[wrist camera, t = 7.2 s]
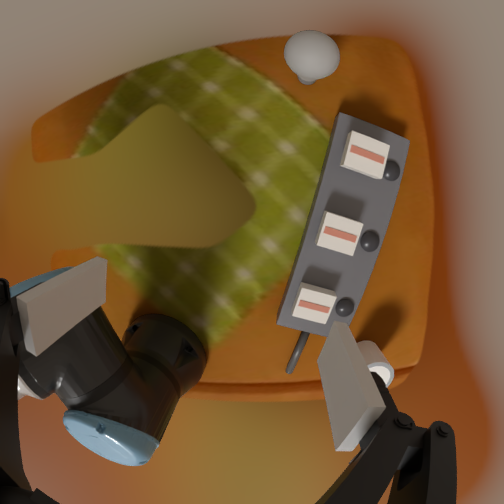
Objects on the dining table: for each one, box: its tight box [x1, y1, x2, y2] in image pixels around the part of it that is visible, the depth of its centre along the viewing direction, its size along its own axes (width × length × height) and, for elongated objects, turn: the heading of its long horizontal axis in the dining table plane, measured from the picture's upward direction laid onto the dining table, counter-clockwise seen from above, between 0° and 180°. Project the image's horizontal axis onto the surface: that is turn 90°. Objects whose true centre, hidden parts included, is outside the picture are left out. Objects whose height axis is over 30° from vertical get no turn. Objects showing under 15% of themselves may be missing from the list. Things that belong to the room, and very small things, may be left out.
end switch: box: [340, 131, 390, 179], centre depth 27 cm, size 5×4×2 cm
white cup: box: [357, 341, 394, 388], centre depth 36 cm, size 7×7×7 cm
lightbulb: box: [284, 30, 340, 85], centre depth 25 cm, size 6×6×11 cm
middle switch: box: [315, 210, 363, 256], centre depth 31 cm, size 5×4×2 cm
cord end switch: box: [292, 282, 337, 324], centre depth 34 cm, size 5×4×2 cm
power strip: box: [276, 112, 410, 374], centre depth 35 cm, size 10×39×3 cm, turn 165°
